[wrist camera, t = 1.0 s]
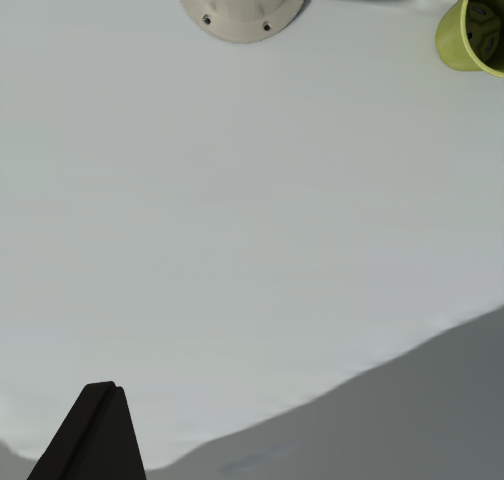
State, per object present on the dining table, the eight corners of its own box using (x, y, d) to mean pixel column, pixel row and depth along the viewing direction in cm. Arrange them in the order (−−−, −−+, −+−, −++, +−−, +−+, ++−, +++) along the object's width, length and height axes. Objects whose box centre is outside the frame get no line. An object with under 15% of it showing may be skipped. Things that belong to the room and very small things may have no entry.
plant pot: (489, 103, 41) (551, 95, 33) (401, 71, 40) (441, 55, 32) (533, 3, 39) (611, -33, 31) (441, -33, 38) (496, -79, 30)
